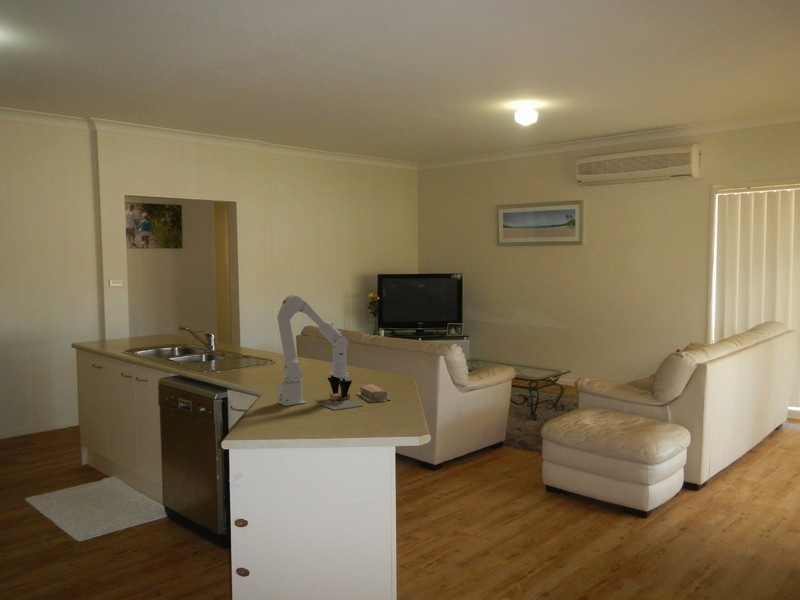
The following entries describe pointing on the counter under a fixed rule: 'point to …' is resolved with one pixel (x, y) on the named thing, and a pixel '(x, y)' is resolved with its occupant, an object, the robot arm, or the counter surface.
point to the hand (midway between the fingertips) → (339, 395)
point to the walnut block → (338, 397)
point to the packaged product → (373, 393)
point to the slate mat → (341, 405)
